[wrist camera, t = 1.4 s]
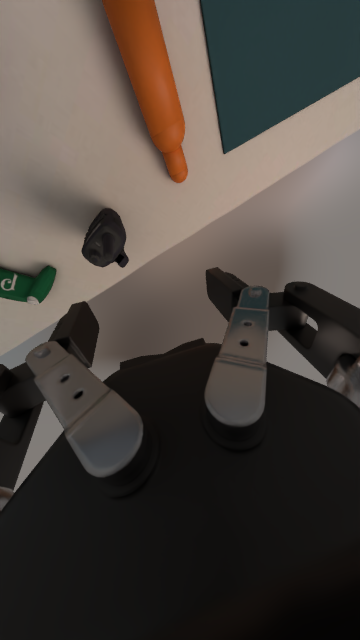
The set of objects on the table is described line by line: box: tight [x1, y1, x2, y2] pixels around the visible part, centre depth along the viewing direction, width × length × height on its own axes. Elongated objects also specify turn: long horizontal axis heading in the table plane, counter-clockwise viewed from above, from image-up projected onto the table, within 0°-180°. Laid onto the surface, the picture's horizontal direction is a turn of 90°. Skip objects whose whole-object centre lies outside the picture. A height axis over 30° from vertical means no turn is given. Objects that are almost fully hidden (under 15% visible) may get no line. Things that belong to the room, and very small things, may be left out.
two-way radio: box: [82, 208, 129, 268], centre depth 21 cm, size 6×4×15 cm
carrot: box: [102, 0, 188, 183], centre depth 18 cm, size 17×4×4 cm, turn 23°
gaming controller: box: [0, 265, 56, 304], centre depth 25 cm, size 9×4×6 cm
